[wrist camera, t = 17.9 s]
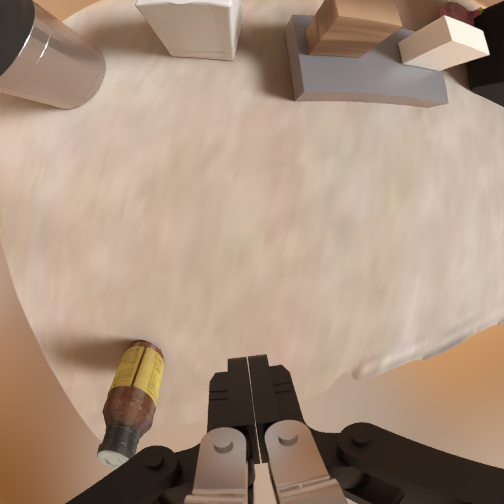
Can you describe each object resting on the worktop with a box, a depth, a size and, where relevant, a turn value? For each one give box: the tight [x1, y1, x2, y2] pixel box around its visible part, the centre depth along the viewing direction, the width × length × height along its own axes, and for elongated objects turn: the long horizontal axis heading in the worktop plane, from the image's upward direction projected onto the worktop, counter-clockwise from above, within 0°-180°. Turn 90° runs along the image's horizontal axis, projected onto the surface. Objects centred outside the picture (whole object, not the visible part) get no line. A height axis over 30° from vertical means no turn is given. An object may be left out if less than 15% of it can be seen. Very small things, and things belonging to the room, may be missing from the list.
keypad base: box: [285, 15, 448, 108], centre depth 29 cm, size 10×20×5 cm, turn 96°
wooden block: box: [398, 15, 490, 71], centre depth 22 cm, size 3×6×10 cm, turn 96°
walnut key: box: [305, 0, 403, 58], centre depth 22 cm, size 3×6×10 cm, turn 96°
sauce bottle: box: [97, 341, 164, 470], centre depth 31 cm, size 7×6×20 cm
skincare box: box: [135, 0, 242, 61], centre depth 23 cm, size 8×6×15 cm
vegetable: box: [439, 2, 483, 27], centre depth 25 cm, size 6×6×10 cm
